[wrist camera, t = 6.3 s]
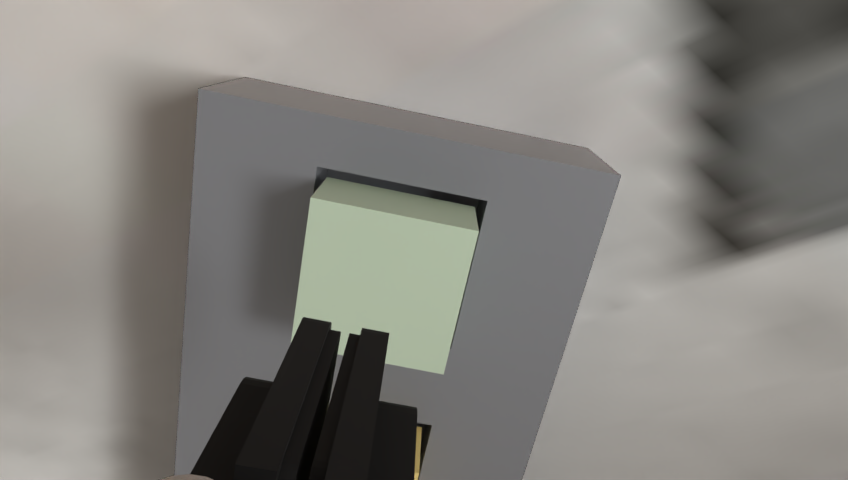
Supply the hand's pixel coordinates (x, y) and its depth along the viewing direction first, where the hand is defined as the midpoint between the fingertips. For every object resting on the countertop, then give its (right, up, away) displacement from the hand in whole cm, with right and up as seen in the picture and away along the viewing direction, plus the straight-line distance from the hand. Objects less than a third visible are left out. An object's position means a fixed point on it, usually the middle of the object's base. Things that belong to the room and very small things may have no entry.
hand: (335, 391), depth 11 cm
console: (-1, -4, +13) cm, 13 cm away
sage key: (+1, +2, +7) cm, 7 cm away
